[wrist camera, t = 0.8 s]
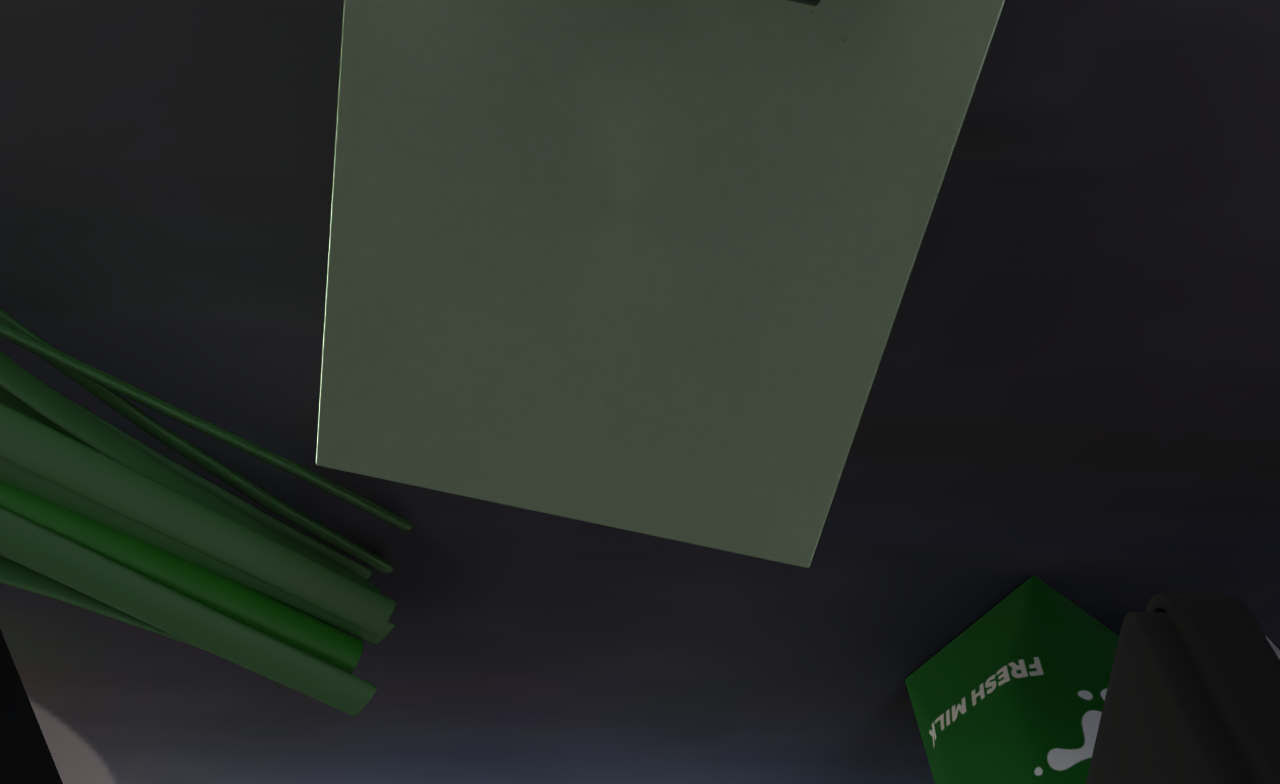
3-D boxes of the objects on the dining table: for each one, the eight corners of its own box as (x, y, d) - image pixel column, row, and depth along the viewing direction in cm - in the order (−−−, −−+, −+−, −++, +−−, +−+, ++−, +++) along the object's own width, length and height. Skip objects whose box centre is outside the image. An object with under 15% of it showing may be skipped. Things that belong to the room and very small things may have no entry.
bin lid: (373, -296, 20) (274, -317, 16) (1044, -144, 20) (1125, -124, 16) (324, 449, 28) (250, 569, 24) (808, 550, 28) (819, 686, 24)
